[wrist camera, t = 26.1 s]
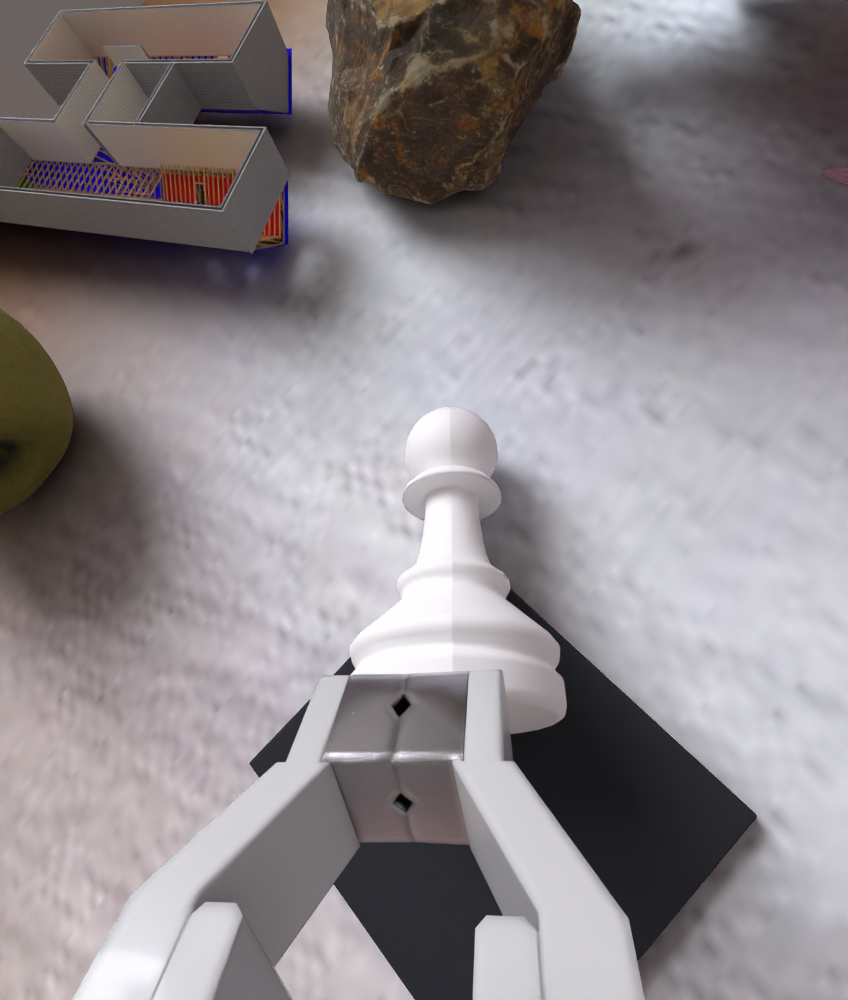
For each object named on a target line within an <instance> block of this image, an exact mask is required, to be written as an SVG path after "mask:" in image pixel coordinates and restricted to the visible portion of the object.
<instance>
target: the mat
mask: <svg viewBox="0 0 848 1000" xmlns="http://www.w3.org/2000/svg"><path fill="white" fill-rule="evenodd" d="M506 600H507V601H508V602H510V603H511V604H512V605H514V606H515V607H516V608H518V609H519V610H520V611H521V612H523V613H524V614H525V615H527V616H528V617H529V618H531V619H532V620H533V621H535V622H536V623H537V624H538V625H540V626H541V627H542V628H544V629H545V630H546V631H548V632H549V633H550V634H551V636H552V637H553V638H554V639H555V640H556V641H557V643H558V644H559V646H560V660H559V664H558V665H557V667H556V669H555V671H556V672H557V673H558V674H559V675H560V676H561V677H562V678H563V680H564V685H565V693H566V702H567V708H566V714H565V716H564V718H563V719H562V720H560V721H559V722H557V723H555V724H554V725H552V726H549V727H545V728H542V729H539V730H534V731H528V732H523V733H515V734H511V745H512V755H513V761H514V762H515V763H516V764H517V766H518V767H519V769H520V770H521V771H522V773H523V774H524V775H525V777H526V778H527V780H528V781H529V782H530V784H531V785H532V787H533V788H534V789H535V791H536V792H537V793H538V795H539V796H540V798H541V799H542V800H543V802H544V803H545V804H546V806H547V807H548V809H549V810H550V811H551V813H552V814H553V815H554V817H555V818H556V820H557V821H558V822H559V824H560V825H561V826H562V828H563V829H564V831H565V832H566V833H567V835H568V836H569V837H570V839H571V840H572V842H573V843H574V844H575V846H576V847H577V848H578V850H579V851H580V853H581V854H582V855H583V857H584V858H585V859H586V861H587V862H588V864H589V865H590V866H591V868H592V869H593V870H594V872H595V873H596V875H597V876H598V877H599V879H600V880H601V882H602V883H603V884H604V886H605V887H606V888H607V890H608V891H609V893H610V894H611V895H612V897H613V898H614V899H615V901H616V902H617V904H618V905H619V906H620V908H621V909H622V910H623V912H624V913H625V915H626V916H627V917H628V919H629V923H630V928H631V933H632V938H633V943H634V948H635V953H636V958H637V962H638V960H639V959H640V958H641V957H642V956H643V954H644V953H645V952H646V951H647V950H648V948H649V947H650V946H651V945H652V943H653V942H654V941H655V940H656V939H657V937H658V936H659V935H660V934H661V933H662V931H663V930H664V929H665V928H666V927H667V925H668V924H669V923H670V922H671V921H672V919H673V918H674V917H675V916H676V914H677V913H678V912H679V911H680V910H681V908H682V907H683V906H684V905H685V904H686V902H687V901H688V900H689V899H690V898H691V896H692V895H693V894H694V893H695V892H696V890H697V889H698V888H699V887H700V885H701V884H702V883H703V882H704V881H705V879H706V878H707V877H708V876H709V875H710V873H711V872H712V871H713V870H714V869H715V867H716V866H717V865H718V864H719V863H720V861H721V860H722V859H723V858H724V856H725V855H726V854H727V853H728V852H729V850H730V849H731V848H732V847H733V846H734V844H735V843H736V842H737V841H738V840H739V838H740V837H741V836H742V835H743V833H744V832H745V831H746V830H747V829H748V827H749V826H750V825H751V824H752V823H753V821H754V820H755V819H756V817H757V816H756V814H755V813H754V812H753V811H752V810H751V809H750V808H749V807H747V806H746V805H745V804H744V803H743V802H742V801H741V800H740V799H739V798H738V797H737V796H736V795H734V794H733V793H732V792H731V791H730V790H729V789H728V788H727V787H726V786H725V785H724V784H722V783H721V782H720V781H719V780H718V779H717V778H716V777H715V776H714V775H713V774H712V773H710V772H709V771H708V770H707V769H706V768H705V767H704V766H703V765H702V764H701V763H700V762H698V761H697V760H696V759H695V758H694V757H693V756H692V755H691V754H690V753H689V752H688V751H686V750H685V749H684V748H683V747H682V746H681V745H680V744H679V743H678V742H677V741H676V740H674V739H673V738H672V737H671V736H670V735H669V734H668V733H667V732H666V731H665V730H664V729H663V728H661V727H660V726H659V725H658V724H657V723H656V722H655V721H654V720H653V719H652V718H651V717H649V716H648V715H647V714H646V713H645V712H644V711H643V710H642V709H641V708H640V707H639V706H637V705H636V704H635V703H634V702H633V701H632V700H631V699H630V698H629V697H628V696H627V695H625V694H624V693H623V692H622V691H621V690H620V689H619V688H618V687H617V686H616V685H615V684H613V683H612V682H611V681H610V680H609V679H608V678H607V677H606V676H605V675H604V674H603V673H601V672H600V671H599V670H598V669H597V668H596V667H595V666H594V665H593V664H592V663H591V662H590V661H588V660H587V659H586V658H585V657H584V656H583V655H582V654H581V653H580V652H579V651H578V650H576V649H575V648H574V647H573V646H572V645H571V644H570V643H569V642H568V641H567V640H566V639H564V638H563V637H562V636H561V635H560V634H559V633H558V632H557V631H556V630H555V629H554V628H552V627H551V626H550V625H549V624H548V623H547V622H546V621H545V620H544V619H543V618H542V617H540V616H539V615H538V614H537V613H536V612H535V611H534V610H533V609H532V608H531V607H530V606H528V605H527V604H526V603H525V602H524V601H523V600H522V599H521V598H520V597H519V596H518V595H517V594H515V593H514V592H513V591H512V590H511V589H510V592H509V593H508V595H507V597H506ZM354 670H355V667H354V666H353V664H352V661H351V657H350V658H349V659H348V660H347V661H346V662H345V663H344V664H343V666H342V667H341V668H340V669H339V670H338V671H337V672H336V673H335V674H334V675H351V674H352V673H353V671H354ZM310 700H311V699H310ZM310 700H309V701H308V702H307V703H306V704H305V705H304V706H303V707H302V708H301V709H300V711H299V712H298V713H297V714H296V715H295V716H294V717H293V718H292V719H291V720H290V721H289V722H288V723H287V724H286V725H285V726H284V727H283V728H282V729H281V730H280V731H279V732H278V734H277V735H276V736H275V737H274V738H273V739H272V740H271V741H270V742H269V743H268V744H267V745H266V746H265V747H264V748H263V749H262V750H261V751H260V752H259V753H258V754H257V756H256V757H255V758H254V759H253V760H252V761H251V762H250V765H251V766H252V768H253V769H254V771H255V772H256V774H257V775H258V776H259V778H260V777H261V776H262V775H263V774H264V773H265V772H267V771H268V770H269V769H270V768H271V767H272V766H273V765H274V764H275V763H277V762H286V760H287V758H288V755H289V753H290V750H291V748H292V745H293V743H294V740H295V738H296V735H297V732H298V730H299V727H300V725H301V722H302V720H303V717H304V715H305V712H306V710H307V707H308V705H309V702H310ZM359 844H360V847H359V848H358V850H357V851H356V853H355V854H354V856H353V857H352V858H351V860H350V861H349V863H348V864H347V865H346V867H345V868H344V870H343V871H342V872H341V874H340V875H339V877H338V878H337V880H336V881H335V882H334V885H335V886H336V888H337V889H338V891H339V892H340V893H341V895H342V896H343V898H344V899H345V901H346V902H347V903H348V905H349V906H350V908H351V909H352V911H353V912H354V913H355V915H356V916H357V918H358V919H359V921H360V922H361V923H362V925H363V926H364V928H365V929H366V931H367V932H368V933H369V935H370V936H371V938H372V939H373V941H374V942H375V943H376V945H377V946H378V948H379V949H380V950H381V952H382V953H383V955H384V956H385V958H386V959H387V960H388V962H389V963H390V965H391V966H392V968H393V969H394V970H395V972H396V973H397V975H398V976H399V978H400V979H401V980H402V982H403V983H404V985H405V986H406V988H407V989H408V990H409V992H410V993H411V995H412V996H413V998H414V999H415V1000H473V976H474V949H475V928H476V927H477V926H478V925H479V923H480V922H481V921H482V920H483V919H484V918H485V916H486V915H491V916H503V914H502V912H501V910H500V908H499V906H498V904H497V902H496V900H495V898H494V896H493V894H492V892H491V890H490V888H489V886H488V884H487V882H486V879H485V877H484V875H483V873H482V871H481V869H480V867H479V865H478V863H477V861H476V859H475V857H474V855H473V853H472V851H471V849H470V845H460V844H441V843H423V842H359Z"/></svg>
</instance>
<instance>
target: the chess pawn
mask: <svg viewBox="0 0 848 1000" xmlns="http://www.w3.org/2000/svg"><path fill="white" fill-rule="evenodd" d="M497 456H498V453H497V444H496V439H495V436H494V434H493V432H492V431H491V429H490V427H489V426H488V424H487V423H486V422H485V421H484V420H483V419H482V418H481V417H479V416H478V415H477V414H475V413H473V412H471V411H469V410H466V409H462V408H456V407H447V408H441V409H437V410H434V411H432V412H430V413H428V414H427V415H425V416H423V417H422V418H421V419H420V420H419V421H418V422H417V423H416V424H415V425H414V427H413V428H412V430H411V432H410V434H409V437H408V439H407V442H406V453H405V459H406V464H407V467H408V470H409V472H410V475H411V477H412V478H413V480H412V481H410V482H409V483H408V484H407V486H406V488H405V490H404V492H403V498H402V501H403V504H404V506H405V508H406V509H407V510H408V511H409V512H410V513H411V514H412V515H414V516H415V517H417V518H419V519H421V520H424V521H425V522H424V530H423V537H422V544H421V548H420V552H419V557H418V560H417V562H416V565H415V566H414V567H412V568H410V569H408V570H407V571H405V572H404V573H403V574H402V575H401V576H400V578H399V579H398V581H397V593H398V594H399V596H400V597H401V599H402V600H400V601H399V602H398V603H397V604H395V605H394V606H393V607H392V608H390V609H389V610H388V611H387V612H385V613H384V614H383V615H382V616H380V617H379V618H378V619H377V620H375V621H374V622H373V623H372V624H370V625H369V626H368V627H367V628H365V629H364V630H363V631H362V632H361V633H359V635H358V636H357V637H356V639H355V640H354V641H353V643H352V644H351V646H350V656H351V661H352V664H353V666H354V667H355V670H354V671H353V673H352V674H351V675H362V674H411V673H433V672H454V671H473V670H494V669H501V670H502V672H503V676H504V684H505V692H506V700H507V707H508V715H509V724H510V734H515V733H523V732H528V731H534V730H539V729H542V728H545V727H549V726H552V725H554V724H555V723H557V722H559V721H560V720H562V719H563V718H564V716H565V714H566V708H567V702H566V693H565V685H564V680H563V678H562V677H561V676H560V675H559V674H558V673H557V672H556V671H555V669H556V667H557V665H558V664H559V660H560V646H559V644H558V643H557V641H556V640H555V639H554V638H553V637H552V636H551V634H550V633H549V632H548V631H546V630H545V629H544V628H542V627H541V626H540V625H538V624H537V623H536V622H535V621H533V620H532V619H531V618H529V617H528V616H527V615H525V614H524V613H523V612H521V611H520V610H519V609H518V608H516V607H515V606H514V605H512V604H511V603H510V602H508V601H507V600H506V597H507V595H508V593H509V592H510V581H509V579H508V578H507V576H506V575H505V574H504V573H503V572H502V571H500V570H499V569H497V568H495V567H494V566H491V564H490V562H489V560H488V558H487V554H486V551H485V547H484V543H483V537H482V531H481V525H480V520H481V519H484V518H486V517H488V516H489V515H491V514H492V513H494V512H495V510H496V509H497V508H498V507H499V506H500V503H501V500H502V496H501V490H500V488H499V487H498V485H497V484H496V482H495V481H494V480H492V479H491V478H490V477H491V476H492V474H493V472H494V469H495V466H496V462H497Z"/></svg>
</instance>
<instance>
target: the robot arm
mask: <svg viewBox="0 0 848 1000" xmlns="http://www.w3.org/2000/svg"><path fill="white" fill-rule="evenodd" d="M359 842H423V843H441V844H460V845H470V849H471V851H472V853H473V855H474V857H475V859H476V861H477V863H478V865H479V867H480V869H481V871H482V873H483V875H484V877H485V879H486V882H487V884H488V886H489V888H490V890H491V892H492V894H493V896H494V898H495V900H496V902H497V904H498V906H499V908H500V910H501V912H502V914H503V916H491V915H486V916H485V918H484V919H483V920H482V921H481V922H480V923H479V925H478V926H477V927H476V928H475V949H474V976H473V1000H645V997H644V992H643V987H642V982H641V978H640V973H639V968H638V963H637V958H636V953H635V948H634V943H633V938H632V933H631V928H630V923H629V919H628V917H627V916H626V915H625V913H624V912H623V910H622V909H621V908H620V906H619V905H618V904H617V902H616V901H615V899H614V898H613V897H612V895H611V894H610V893H609V891H608V890H607V888H606V887H605V886H604V884H603V883H602V882H601V880H600V879H599V877H598V876H597V875H596V873H595V872H594V870H593V869H592V868H591V866H590V865H589V864H588V862H587V861H586V859H585V858H584V857H583V855H582V854H581V853H580V851H579V850H578V848H577V847H576V846H575V844H574V843H573V842H572V840H571V839H570V837H569V836H568V835H567V833H566V832H565V831H564V829H563V828H562V826H561V825H560V824H559V822H558V821H557V820H556V818H555V817H554V815H553V814H552V813H551V811H550V810H549V809H548V807H547V806H546V804H545V803H544V802H543V800H542V799H541V798H540V796H539V795H538V793H537V792H536V791H535V789H534V788H533V787H532V785H531V784H530V782H529V781H528V780H527V778H526V777H525V775H524V774H523V773H522V771H521V770H520V769H519V767H518V766H517V764H516V763H515V762H514V761H513V755H512V745H511V734H510V724H509V715H508V707H507V700H506V692H505V684H504V676H503V672H502V670H501V669H494V670H473V671H454V672H433V673H411V674H362V675H324V676H323V677H322V678H321V679H320V680H319V681H318V683H317V685H316V687H315V690H314V692H313V695H312V697H311V700H310V702H309V705H308V707H307V710H306V712H305V715H304V717H303V720H302V722H301V725H300V727H299V730H298V732H297V735H296V738H295V740H294V743H293V745H292V748H291V750H290V753H289V755H288V758H287V760H286V762H277V763H275V764H274V765H273V766H272V767H271V768H270V769H269V770H268V771H267V772H265V773H264V774H263V775H262V776H261V777H260V778H259V779H258V780H257V781H256V782H254V783H253V784H252V785H251V786H250V787H249V788H248V789H247V790H246V791H244V792H243V793H242V794H241V795H240V796H239V797H238V798H237V799H236V800H234V801H233V802H232V803H231V804H230V805H229V806H228V807H227V808H226V809H225V810H223V811H222V812H221V813H220V814H219V815H218V816H217V817H216V818H215V819H213V820H212V821H211V822H210V823H209V824H208V825H207V826H206V827H205V828H203V829H202V830H201V831H200V832H199V833H198V834H197V835H196V836H195V837H194V838H192V839H191V840H190V841H189V842H188V843H187V844H186V845H185V846H184V847H182V848H181V849H180V850H179V851H178V852H177V853H176V854H175V855H174V856H172V857H171V858H170V859H169V860H168V861H167V862H166V863H165V864H164V865H163V866H161V867H160V868H159V869H158V870H157V871H156V872H155V873H154V874H153V875H151V876H150V877H149V878H148V879H147V880H146V881H145V882H144V883H143V884H141V885H140V886H139V887H138V888H137V889H136V890H135V891H134V892H133V893H132V894H131V895H130V897H129V898H128V900H127V902H126V904H125V906H124V907H123V909H122V911H121V913H120V915H119V916H118V918H117V920H116V922H115V924H114V925H113V927H112V929H111V931H110V933H109V934H108V936H107V938H106V940H105V942H104V943H103V945H102V947H101V949H100V951H99V952H98V954H97V956H96V958H95V960H94V961H93V963H92V965H91V967H90V969H89V970H88V972H87V974H86V976H85V978H84V979H83V981H82V983H81V985H80V987H79V988H78V990H77V992H76V994H75V996H74V997H73V999H72V1000H293V999H292V997H291V995H290V994H289V992H288V990H287V989H286V987H285V985H284V983H283V982H282V980H281V978H280V977H279V975H278V973H277V971H276V970H275V968H274V967H275V966H276V964H277V963H278V962H279V960H280V959H281V957H282V956H283V954H284V953H285V952H286V950H287V949H288V947H289V946H290V945H291V943H292V942H293V940H294V939H295V937H296V936H297V935H298V933H299V932H300V930H301V929H302V928H303V926H304V925H305V923H306V922H307V921H308V919H309V918H310V916H311V915H312V913H313V912H314V911H315V909H316V908H317V906H318V905H319V904H320V902H321V901H322V899H323V898H324V896H325V895H326V894H327V892H328V891H329V889H330V888H331V887H332V885H333V884H334V882H335V881H336V880H337V878H338V877H339V875H340V874H341V872H342V871H343V870H344V868H345V867H346V865H347V864H348V863H349V861H350V860H351V858H352V857H353V856H354V854H355V853H356V851H357V850H358V848H359V847H360V844H359Z"/></svg>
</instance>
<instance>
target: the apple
mask: <svg viewBox="0 0 848 1000" xmlns="http://www.w3.org/2000/svg"><path fill="white" fill-rule="evenodd" d="M73 420H74V417H73V409H72V405H71V400H70V397H69V394H68V391H67V388H66V386H65V383H64V381H63V379H62V377H61V375H60V373H59V371H58V370H57V368H56V366H55V365H54V363H53V361H52V359H51V358H50V356H49V355H48V354H47V352H46V351H45V350H44V348H43V347H42V346H41V345H40V343H39V342H38V341H37V340H36V339H35V338H34V337H33V336H32V335H31V334H30V333H29V332H28V331H27V330H26V329H25V328H24V327H23V326H22V325H21V324H20V323H19V322H18V321H16V320H15V319H14V318H12V317H11V316H10V315H8V314H7V313H5V312H4V311H3V310H1V309H0V515H1V514H4V513H6V512H7V511H9V510H11V509H13V508H15V507H16V506H17V505H19V504H20V503H22V502H23V501H24V500H26V499H27V498H28V497H29V496H30V495H32V494H33V493H34V492H35V491H36V490H37V489H38V488H39V487H40V486H41V485H42V484H43V482H44V481H45V480H46V479H47V478H48V476H49V475H50V474H51V472H52V471H53V470H54V469H55V467H56V466H57V465H58V463H59V462H60V460H61V459H62V457H63V455H64V454H65V452H66V450H67V447H68V445H69V442H70V439H71V435H72V429H73Z"/></svg>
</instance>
